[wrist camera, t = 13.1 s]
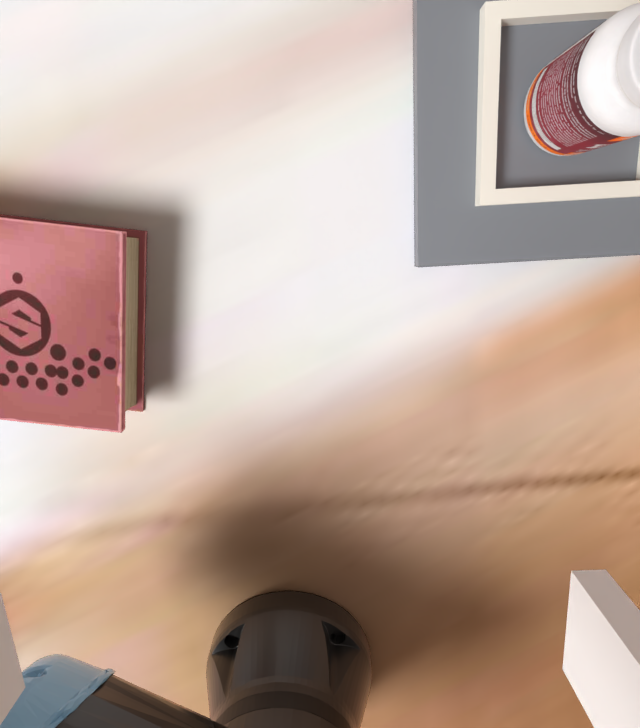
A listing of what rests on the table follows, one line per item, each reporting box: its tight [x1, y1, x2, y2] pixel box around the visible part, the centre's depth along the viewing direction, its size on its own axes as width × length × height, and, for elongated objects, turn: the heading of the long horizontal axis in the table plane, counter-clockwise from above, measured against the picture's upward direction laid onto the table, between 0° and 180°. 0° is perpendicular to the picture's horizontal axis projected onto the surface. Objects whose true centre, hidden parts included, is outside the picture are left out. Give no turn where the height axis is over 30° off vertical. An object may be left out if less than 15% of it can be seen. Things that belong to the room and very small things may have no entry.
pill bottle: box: [524, 3, 640, 156], centre depth 28 cm, size 6×6×11 cm
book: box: [0, 214, 147, 433], centre depth 37 cm, size 14×15×5 cm
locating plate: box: [413, 0, 640, 267], centre depth 33 cm, size 20×20×3 cm
